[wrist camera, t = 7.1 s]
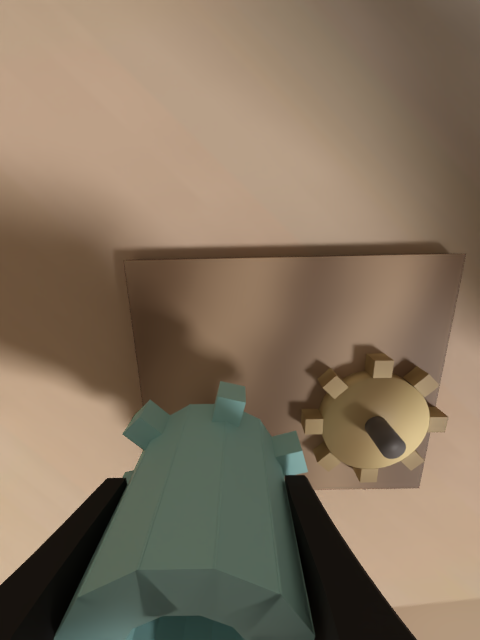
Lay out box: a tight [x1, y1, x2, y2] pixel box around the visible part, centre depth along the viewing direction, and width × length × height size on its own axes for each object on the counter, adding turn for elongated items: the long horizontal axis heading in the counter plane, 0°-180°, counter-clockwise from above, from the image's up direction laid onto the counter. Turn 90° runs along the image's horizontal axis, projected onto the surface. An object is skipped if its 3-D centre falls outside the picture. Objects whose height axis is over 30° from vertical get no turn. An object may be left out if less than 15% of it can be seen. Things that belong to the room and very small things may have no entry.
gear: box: [53, 381, 315, 640], centre depth 8 cm, size 7×7×5 cm
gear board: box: [124, 253, 466, 490], centre depth 11 cm, size 14×12×4 cm
